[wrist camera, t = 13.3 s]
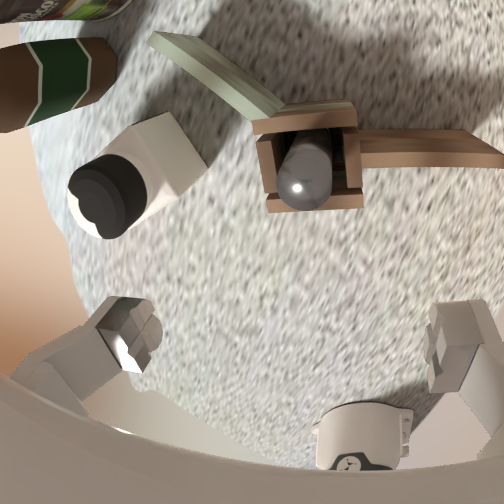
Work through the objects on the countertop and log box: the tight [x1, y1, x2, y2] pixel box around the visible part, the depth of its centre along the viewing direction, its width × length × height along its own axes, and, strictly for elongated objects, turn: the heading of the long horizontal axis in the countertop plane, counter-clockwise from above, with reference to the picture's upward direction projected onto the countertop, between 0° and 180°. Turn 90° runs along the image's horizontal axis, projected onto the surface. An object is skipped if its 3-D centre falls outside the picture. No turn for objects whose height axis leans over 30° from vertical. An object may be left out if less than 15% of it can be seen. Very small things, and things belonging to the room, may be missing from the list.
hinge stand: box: [146, 31, 504, 213], centre depth 21 cm, size 23×14×8 cm, turn 100°
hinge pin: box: [276, 128, 332, 211], centre depth 22 cm, size 3×3×12 cm
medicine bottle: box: [67, 111, 208, 239], centre depth 26 cm, size 7×7×12 cm
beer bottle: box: [0, 37, 117, 133], centre depth 17 cm, size 8×8×24 cm
